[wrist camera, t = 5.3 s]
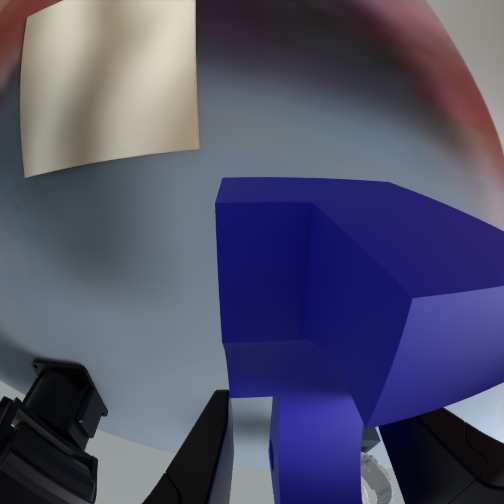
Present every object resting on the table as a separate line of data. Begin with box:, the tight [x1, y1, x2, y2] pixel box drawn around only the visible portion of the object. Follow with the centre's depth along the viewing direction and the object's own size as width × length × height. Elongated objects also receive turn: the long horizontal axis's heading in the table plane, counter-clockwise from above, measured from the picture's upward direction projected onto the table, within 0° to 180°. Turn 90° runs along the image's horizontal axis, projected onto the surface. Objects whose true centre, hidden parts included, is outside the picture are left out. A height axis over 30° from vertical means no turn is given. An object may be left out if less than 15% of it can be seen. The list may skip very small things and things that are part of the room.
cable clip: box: [215, 177, 504, 504], centre depth 7 cm, size 12×4×6 cm, turn 0°
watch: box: [360, 423, 394, 504], centre depth 21 cm, size 6×8×11 cm
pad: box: [20, 0, 200, 178], centre depth 13 cm, size 12×12×1 cm
